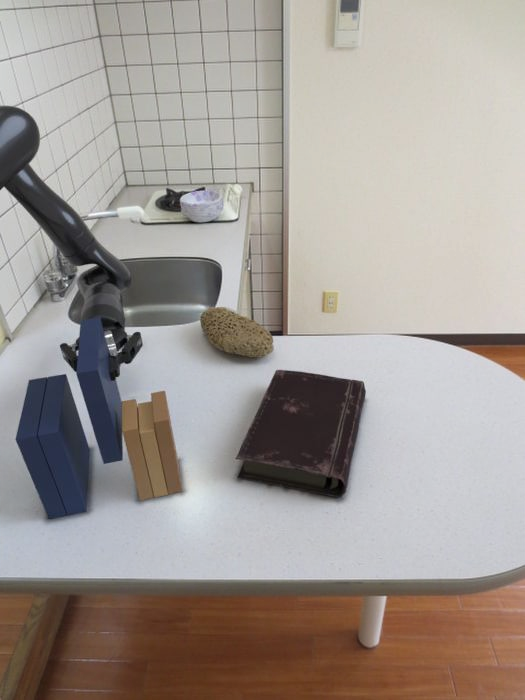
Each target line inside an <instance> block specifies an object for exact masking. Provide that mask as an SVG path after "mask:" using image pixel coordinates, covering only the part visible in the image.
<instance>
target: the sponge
mask: <svg viewBox="0 0 525 700" xmlns="http://www.w3.org/2000/svg"><path fill="white" fill-rule="evenodd" d="M199 322H200V327H201V330H202V332H203V333H204V334H205V336H206V337H207V340H208V341H209V343H210V344H211V345H213V346H214V347H215V348H217V349H219V350H220V351H224V352H225V353H229V354H232V355H239V356H244V357H248V358H254V357H255V358H263V357H267V356H268V355H270V354H271V353H272V352H273V351H274V337H273V335H272V334H271V332H270V331H269V330H268V329H267V328H266V327H264V326H262V324H260V323H258V322H257V321H256V320H253V319H250V318H249V317H248V316H242V315H241V314H239V313H237V312H236V310H235V309H232V308H229V307H227V306H212V307H209V308H207V309H206V310H204V311H202V313H201V314H200V319H199Z"/></svg>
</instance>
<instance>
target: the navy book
mask: <svg viewBox="0 0 525 700" xmlns="http://www.w3.org/2000/svg"><path fill="white" fill-rule="evenodd" d="M80 323H81V330H80V329H79V333H80V340H79V350H78V351H77V356H78V360H77V370H76V372H75V374H76V377H77V381H78V384H79V388H80V390H81V394H82V397H83V400H84V404H85V407H86V411H87V413H88V417H89V420H90V424H91V427H92V430H93V433H94V437H95V440H96V444H97V447H98V450H99V453H100V456H101V459H102V463H103V465H107V464H112V463H117V462H122V461H124V454H123V453H124V452H123V451H124V450H123V433H122V398H121V394H120V390H119V387H118V382H117V379H116V380H115V381H111V378H110V374H109V357H110V354H109V350H108V346H107V342H106V338H105V334H104V330H103V326H102V322H101V318H100V317H98V318H91V319H84V320H81V319H80Z"/></svg>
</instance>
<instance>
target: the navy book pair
mask: <svg viewBox="0 0 525 700" xmlns="http://www.w3.org/2000/svg"><path fill="white" fill-rule="evenodd" d="M15 442H16V444H17V446H18V450H19V451H20V454H21V457H22V458H23V461H24V464H25V465H26V468H27V471H28V474H29V476H30V478H31V480H32V483H33V485H34V487H35V490H36V492H37V495H38V497H39V499H40V502H41V504H42V507H43V509H44V512H45V514H46V517H47V518H48V520H53V519H58V518H63V517H67V516H71V515H76V514H82V513H86V512H87V510H88V509H87V507H88V506H87V505H88V489H89V472H90V454H91V453H90V452H91V450H90V446H89V444H88V440H87V437H86V433H85V430H84V426H83V423H82V421H81V417H80V415H79V411H78V408H77V404H76V401H75V398H74V395H73V392H72V388H71V385H70V382H69V378H68V375H67V373H62V374H57V375H50V376H44V377H37V378H32V379H28V382H27V386H26V391H25V396H24V400H23V404H22V409H21V414H20V418H19V422H18V426H17V431H16V435H15Z"/></svg>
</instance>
